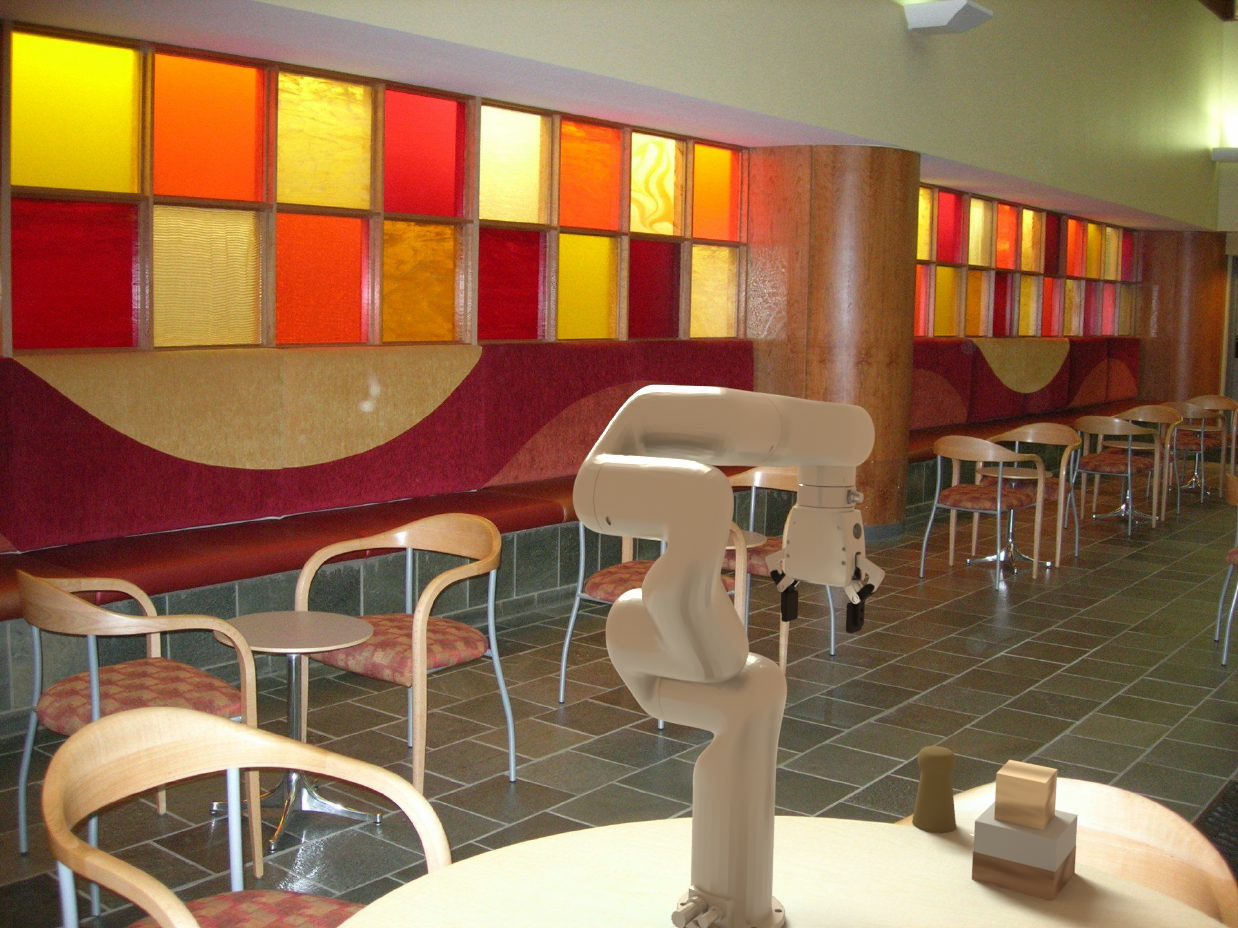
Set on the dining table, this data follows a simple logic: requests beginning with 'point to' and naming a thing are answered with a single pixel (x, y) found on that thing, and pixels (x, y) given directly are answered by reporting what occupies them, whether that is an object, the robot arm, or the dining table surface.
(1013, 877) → the tower base
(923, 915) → the dining table surface
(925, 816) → the brown tapered cylinder
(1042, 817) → the block
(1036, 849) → the tower top
